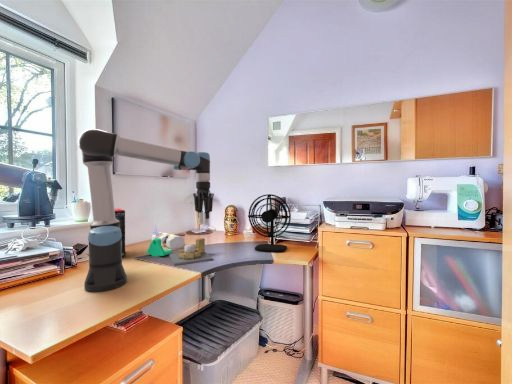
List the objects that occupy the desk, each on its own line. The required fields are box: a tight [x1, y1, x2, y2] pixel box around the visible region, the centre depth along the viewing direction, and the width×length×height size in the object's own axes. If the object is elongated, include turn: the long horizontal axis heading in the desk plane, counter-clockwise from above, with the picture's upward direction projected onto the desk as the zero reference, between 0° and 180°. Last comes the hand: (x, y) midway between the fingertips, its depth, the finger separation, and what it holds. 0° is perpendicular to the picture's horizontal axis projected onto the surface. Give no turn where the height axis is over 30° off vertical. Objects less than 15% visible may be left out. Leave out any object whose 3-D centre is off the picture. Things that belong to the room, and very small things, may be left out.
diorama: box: [151, 225, 185, 250], centre depth 175 cm, size 25×10×13 cm, turn 49°
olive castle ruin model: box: [178, 237, 206, 259], centre depth 145 cm, size 16×12×8 cm
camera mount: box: [146, 237, 172, 258], centre depth 150 cm, size 12×8×10 cm, turn 67°
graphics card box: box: [114, 208, 126, 258], centre depth 150 cm, size 17×7×27 cm, turn 37°
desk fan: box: [247, 193, 292, 253], centre depth 160 cm, size 27×18×35 cm, turn 73°
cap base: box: [168, 243, 213, 267], centre depth 143 cm, size 20×20×7 cm
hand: (203, 224), depth 138 cm, fingers open, 3 cm apart
